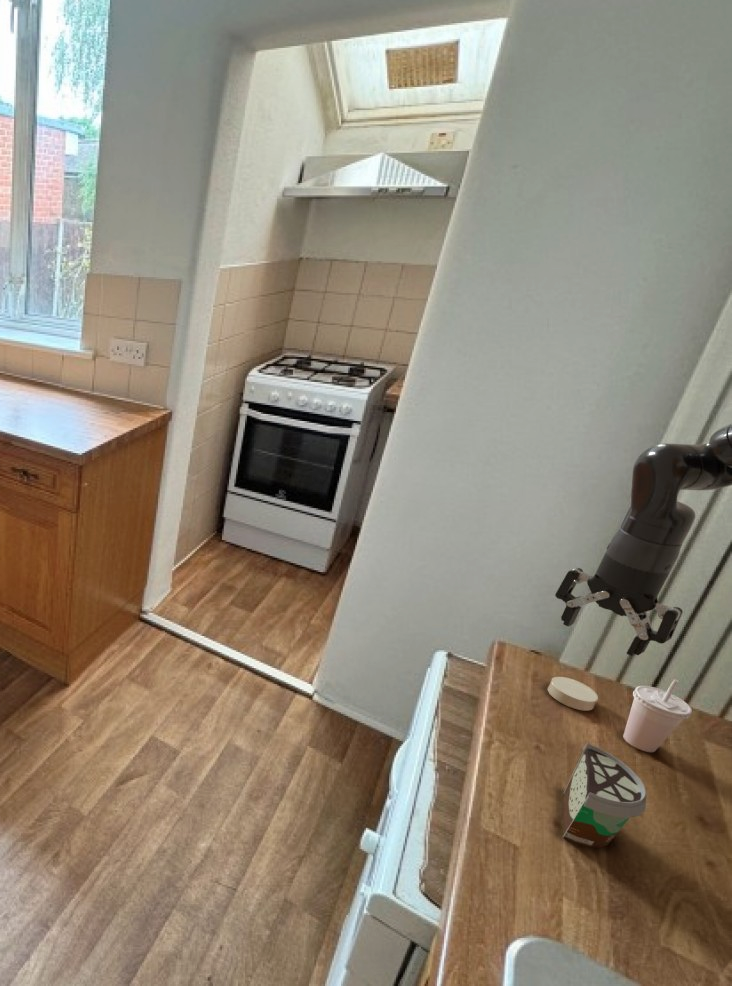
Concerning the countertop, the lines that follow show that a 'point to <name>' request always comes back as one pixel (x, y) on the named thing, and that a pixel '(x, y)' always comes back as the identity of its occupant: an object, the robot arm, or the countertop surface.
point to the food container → (600, 798)
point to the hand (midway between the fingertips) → (598, 638)
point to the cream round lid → (572, 693)
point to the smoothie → (654, 716)
